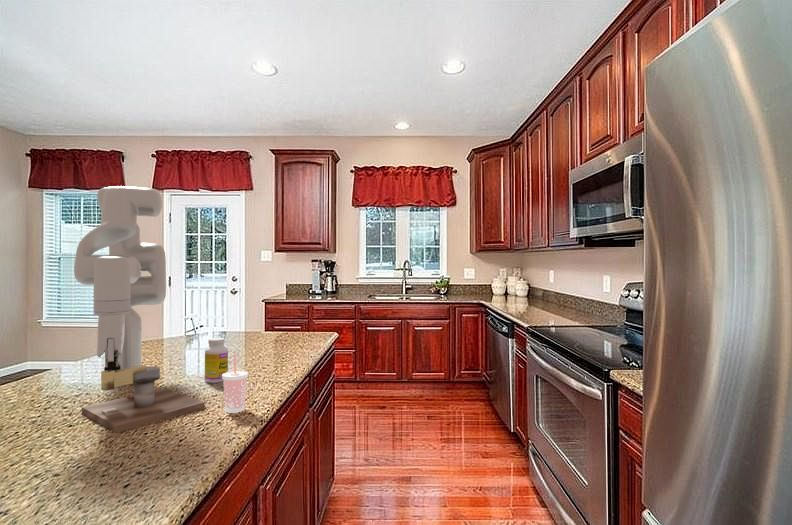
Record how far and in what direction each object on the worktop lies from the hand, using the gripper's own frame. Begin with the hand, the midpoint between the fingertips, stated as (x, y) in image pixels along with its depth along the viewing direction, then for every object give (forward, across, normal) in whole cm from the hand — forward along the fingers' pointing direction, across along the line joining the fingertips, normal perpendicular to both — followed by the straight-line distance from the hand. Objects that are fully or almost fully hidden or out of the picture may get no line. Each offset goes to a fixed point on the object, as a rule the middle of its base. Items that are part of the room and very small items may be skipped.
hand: (112, 382), depth 108 cm
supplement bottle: (+8, -19, +26) cm, 33 cm away
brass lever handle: (0, +3, +4) cm, 5 cm away
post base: (+7, +2, +7) cm, 10 cm away
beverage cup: (+8, +11, +27) cm, 30 cm away
